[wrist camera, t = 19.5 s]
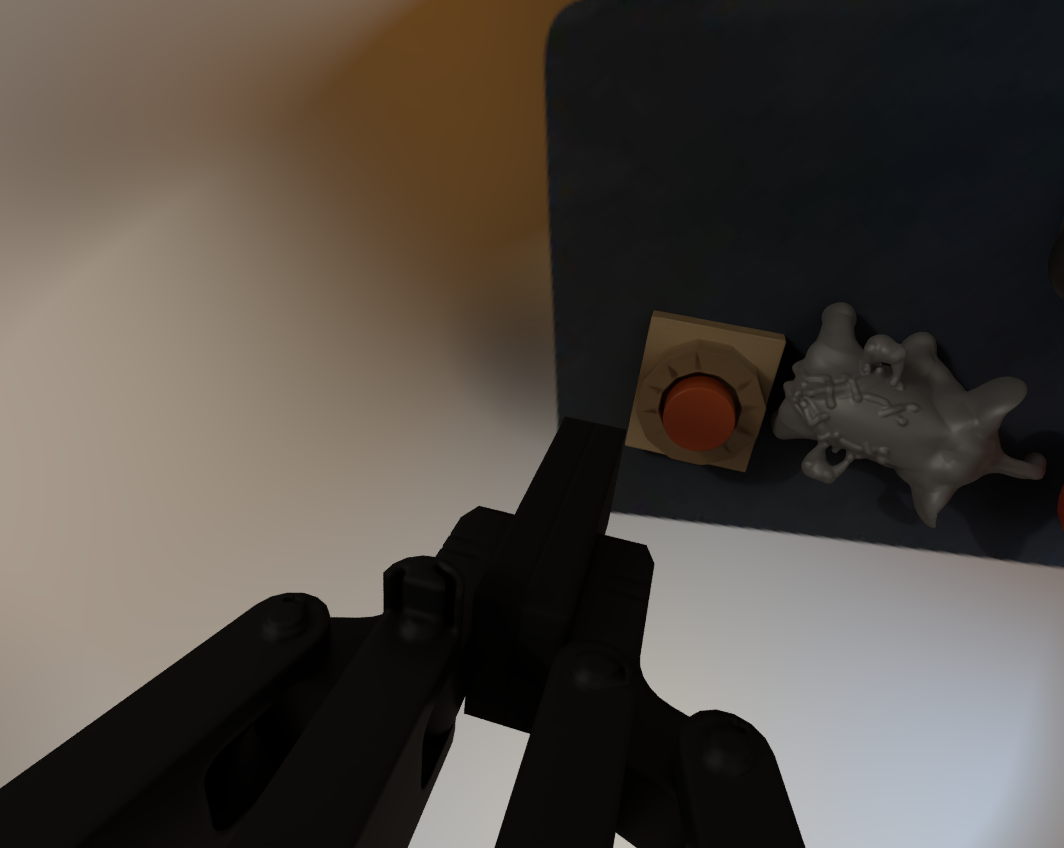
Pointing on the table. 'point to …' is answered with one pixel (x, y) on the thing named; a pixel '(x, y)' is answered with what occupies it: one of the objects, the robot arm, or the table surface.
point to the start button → (699, 413)
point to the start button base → (710, 352)
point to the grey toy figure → (898, 413)
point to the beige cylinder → (1061, 227)
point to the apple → (1061, 507)
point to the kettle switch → (1057, 266)
